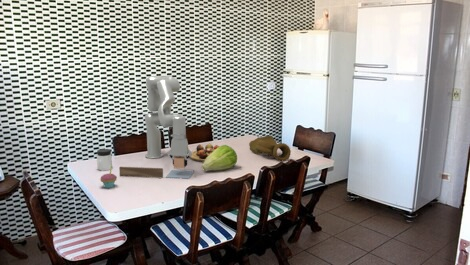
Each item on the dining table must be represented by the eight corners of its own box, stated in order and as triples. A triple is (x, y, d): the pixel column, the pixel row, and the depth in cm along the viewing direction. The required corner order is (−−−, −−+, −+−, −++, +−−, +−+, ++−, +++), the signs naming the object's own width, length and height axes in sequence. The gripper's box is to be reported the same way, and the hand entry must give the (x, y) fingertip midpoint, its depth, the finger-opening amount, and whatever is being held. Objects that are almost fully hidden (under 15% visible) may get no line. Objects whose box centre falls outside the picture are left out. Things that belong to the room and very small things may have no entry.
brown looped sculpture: (280, 138, 288) (295, 140, 262) (274, 159, 288) (288, 163, 261) (252, 130, 283) (264, 131, 256) (246, 151, 282) (258, 154, 255)
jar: (94, 169, 238) (93, 150, 236) (105, 166, 245) (104, 148, 242) (104, 171, 234) (103, 152, 231) (114, 168, 241) (113, 150, 238)
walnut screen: (120, 175, 226) (120, 166, 225) (163, 177, 224) (162, 168, 223) (119, 176, 225) (119, 167, 224) (162, 177, 223) (162, 169, 222)
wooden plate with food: (213, 166, 249) (213, 154, 247) (179, 157, 268) (178, 146, 266) (241, 156, 274) (242, 145, 272) (208, 149, 293) (208, 138, 291)
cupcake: (118, 183, 212) (117, 163, 210) (114, 189, 204) (113, 167, 201) (103, 183, 212) (102, 163, 209) (98, 189, 203) (97, 167, 201)
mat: (171, 170, 236) (171, 169, 236) (193, 171, 235) (193, 170, 235) (165, 177, 223) (165, 176, 223) (189, 178, 222) (189, 177, 221)
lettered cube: (176, 165, 231) (176, 155, 230) (186, 165, 231) (185, 155, 229) (173, 167, 225) (173, 158, 224) (183, 168, 225) (183, 158, 223)
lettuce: (215, 182, 230) (201, 179, 243) (243, 162, 243) (228, 160, 256) (206, 161, 226) (192, 159, 238) (235, 142, 239) (220, 141, 251)
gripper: (163, 137, 221) (164, 167, 225) (192, 138, 220) (192, 168, 223) (166, 135, 229) (167, 163, 232) (194, 135, 227) (195, 164, 231)
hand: (180, 165), depth 228 cm, fingers closed on lettered cube, 6 cm apart
